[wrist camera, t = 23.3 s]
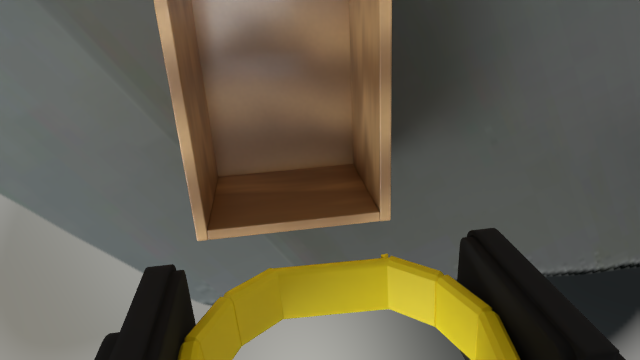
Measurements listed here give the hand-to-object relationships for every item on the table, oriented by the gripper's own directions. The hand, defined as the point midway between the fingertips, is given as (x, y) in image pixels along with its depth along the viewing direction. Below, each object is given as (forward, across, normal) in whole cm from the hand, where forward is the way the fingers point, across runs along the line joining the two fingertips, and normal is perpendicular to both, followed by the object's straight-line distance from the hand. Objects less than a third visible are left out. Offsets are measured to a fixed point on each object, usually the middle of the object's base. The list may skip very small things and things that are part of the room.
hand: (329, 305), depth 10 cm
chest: (+27, 0, -1) cm, 27 cm away
